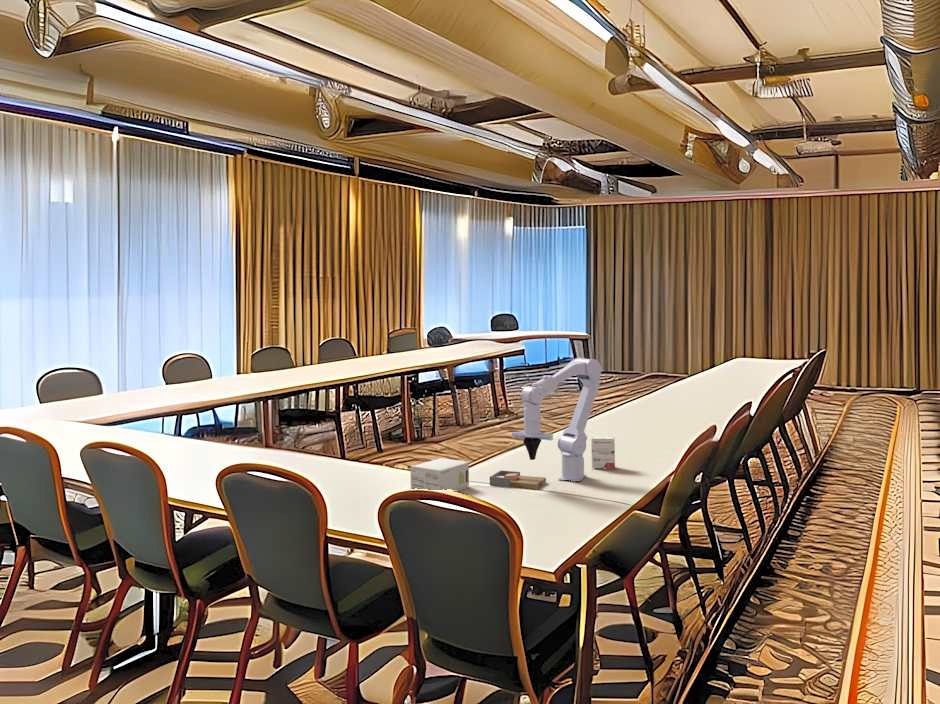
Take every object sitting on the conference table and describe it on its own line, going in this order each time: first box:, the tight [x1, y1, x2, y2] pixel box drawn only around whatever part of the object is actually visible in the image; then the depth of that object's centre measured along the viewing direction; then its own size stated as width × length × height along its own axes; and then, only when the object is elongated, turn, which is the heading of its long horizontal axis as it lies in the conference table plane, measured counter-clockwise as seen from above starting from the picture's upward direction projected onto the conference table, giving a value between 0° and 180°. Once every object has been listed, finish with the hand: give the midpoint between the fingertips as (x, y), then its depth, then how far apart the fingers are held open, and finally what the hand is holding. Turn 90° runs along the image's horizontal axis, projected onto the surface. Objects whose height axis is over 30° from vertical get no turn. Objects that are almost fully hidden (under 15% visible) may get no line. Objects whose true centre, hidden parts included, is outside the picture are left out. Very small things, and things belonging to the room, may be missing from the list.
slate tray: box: [489, 470, 521, 488], centre depth 305 cm, size 10×8×3 cm
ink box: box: [590, 436, 616, 470], centre depth 325 cm, size 9×5×12 cm, turn 77°
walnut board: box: [509, 475, 547, 490], centre depth 301 cm, size 10×10×2 cm
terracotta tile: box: [504, 473, 519, 480], centre depth 303 cm, size 4×4×2 cm
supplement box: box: [410, 457, 470, 492], centre depth 296 cm, size 17×13×9 cm
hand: (532, 459), depth 299 cm, fingers closed
